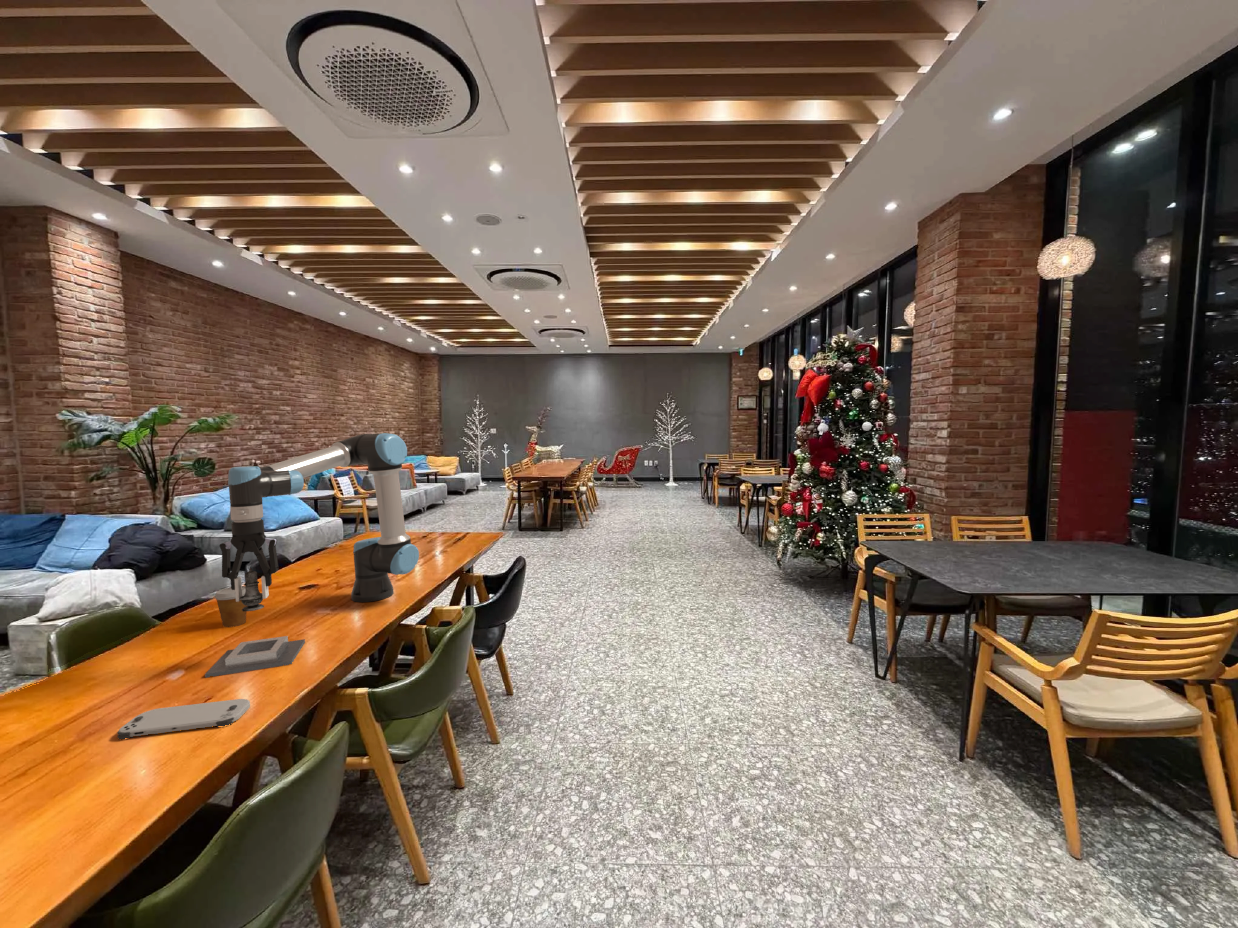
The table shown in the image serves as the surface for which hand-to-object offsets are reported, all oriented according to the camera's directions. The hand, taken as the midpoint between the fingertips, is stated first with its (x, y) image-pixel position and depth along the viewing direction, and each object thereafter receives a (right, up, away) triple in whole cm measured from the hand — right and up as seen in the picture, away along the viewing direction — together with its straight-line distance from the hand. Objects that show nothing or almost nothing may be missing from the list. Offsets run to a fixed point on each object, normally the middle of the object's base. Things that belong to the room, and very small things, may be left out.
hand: (252, 598), depth 147 cm
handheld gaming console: (+8, -20, -32) cm, 38 cm away
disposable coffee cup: (-26, -16, +27) cm, 41 cm away
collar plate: (+2, -17, 0) cm, 18 cm away
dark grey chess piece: (0, -3, 0) cm, 3 cm away
